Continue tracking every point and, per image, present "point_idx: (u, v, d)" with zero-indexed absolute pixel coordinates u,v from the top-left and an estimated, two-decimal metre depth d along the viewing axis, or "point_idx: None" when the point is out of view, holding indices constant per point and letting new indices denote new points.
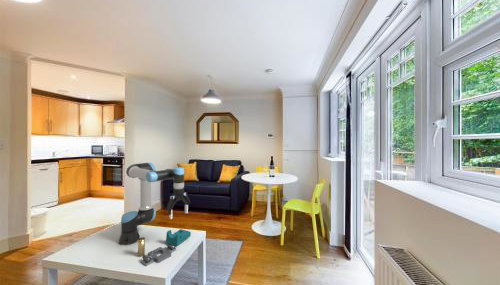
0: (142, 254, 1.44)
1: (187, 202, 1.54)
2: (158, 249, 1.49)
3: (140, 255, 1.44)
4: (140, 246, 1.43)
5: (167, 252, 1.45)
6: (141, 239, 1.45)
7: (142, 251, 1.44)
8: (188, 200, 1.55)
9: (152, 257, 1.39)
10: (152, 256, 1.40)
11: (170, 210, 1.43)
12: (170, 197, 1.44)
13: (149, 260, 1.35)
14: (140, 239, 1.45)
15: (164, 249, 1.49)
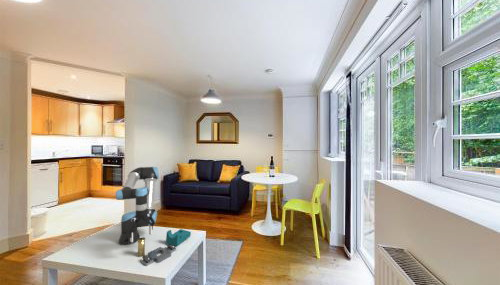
0: (142, 254, 1.44)
1: (151, 223, 1.50)
2: (158, 249, 1.49)
3: (140, 255, 1.44)
4: (140, 246, 1.43)
5: (167, 252, 1.45)
6: (141, 239, 1.45)
7: (142, 251, 1.44)
8: (152, 221, 1.51)
9: (152, 257, 1.39)
10: (152, 256, 1.40)
11: (130, 233, 1.39)
12: (131, 219, 1.40)
13: (149, 260, 1.35)
14: (140, 239, 1.45)
15: (164, 249, 1.49)
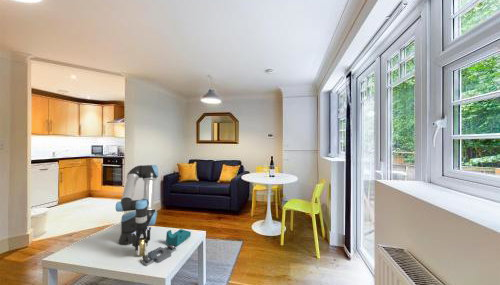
0: (142, 254, 1.44)
1: (146, 239, 1.48)
2: (158, 249, 1.49)
3: (140, 255, 1.44)
4: (140, 246, 1.43)
5: (167, 252, 1.45)
6: (141, 239, 1.45)
7: (142, 251, 1.44)
8: (148, 236, 1.49)
9: (152, 257, 1.39)
10: (152, 256, 1.40)
11: (137, 246, 1.43)
12: (131, 234, 1.40)
13: (149, 260, 1.35)
14: (140, 239, 1.45)
15: (164, 249, 1.49)
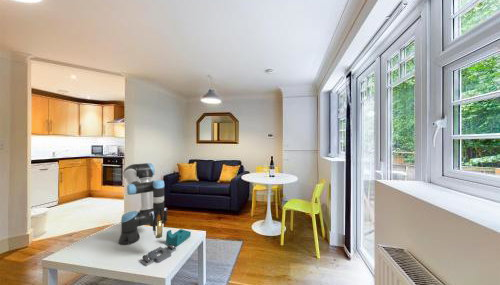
0: (159, 235, 1.43)
1: (164, 220, 1.46)
2: (158, 249, 1.49)
3: (158, 236, 1.42)
4: (158, 227, 1.42)
5: (167, 252, 1.45)
6: (158, 220, 1.44)
7: (159, 232, 1.43)
8: (165, 217, 1.47)
9: (152, 257, 1.39)
10: (152, 256, 1.40)
11: (155, 226, 1.41)
12: (149, 214, 1.39)
13: (149, 260, 1.35)
14: (157, 220, 1.44)
15: (164, 249, 1.49)
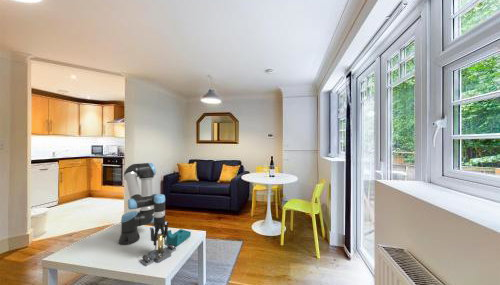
0: (160, 250, 1.43)
1: (164, 234, 1.47)
2: None
3: (158, 251, 1.42)
4: (158, 242, 1.42)
5: (167, 252, 1.45)
6: (159, 235, 1.44)
7: (160, 247, 1.43)
8: (166, 231, 1.48)
9: (152, 257, 1.39)
10: (152, 256, 1.40)
11: None
12: (150, 229, 1.39)
13: (149, 260, 1.35)
14: (158, 235, 1.44)
15: (164, 249, 1.49)
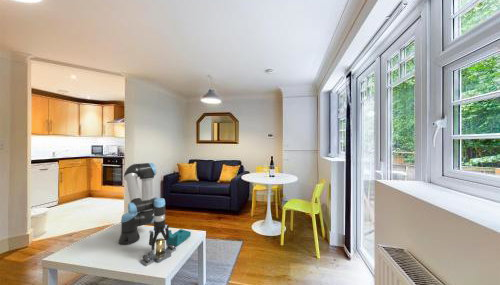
0: None
1: (166, 237, 1.48)
2: None
3: None
4: (158, 247, 1.42)
5: (167, 252, 1.45)
6: (159, 240, 1.44)
7: (160, 252, 1.43)
8: (167, 234, 1.49)
9: (152, 257, 1.39)
10: (152, 256, 1.40)
11: None
12: (150, 232, 1.39)
13: (149, 260, 1.35)
14: (158, 240, 1.44)
15: (164, 249, 1.49)
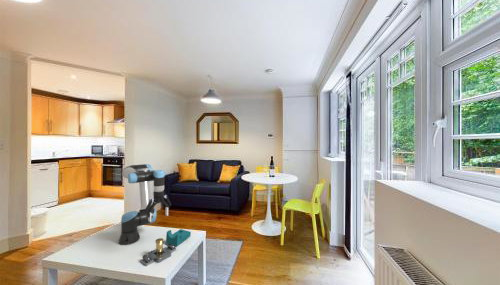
0: None
1: (168, 204, 1.54)
2: None
3: None
4: (158, 247, 1.42)
5: (167, 252, 1.45)
6: (159, 240, 1.44)
7: (160, 252, 1.43)
8: (169, 202, 1.55)
9: (152, 257, 1.39)
10: (152, 256, 1.40)
11: (149, 213, 1.43)
12: (149, 200, 1.44)
13: (149, 260, 1.35)
14: (158, 240, 1.44)
15: (164, 249, 1.49)
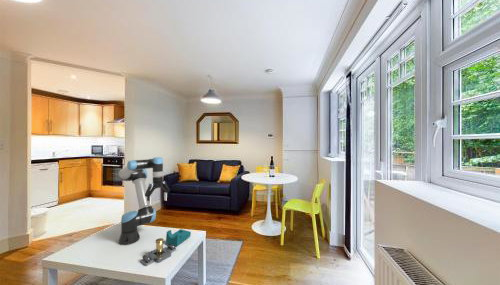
0: None
1: (166, 190, 1.65)
2: None
3: None
4: (158, 247, 1.42)
5: (167, 252, 1.45)
6: (159, 240, 1.44)
7: (160, 252, 1.43)
8: (167, 188, 1.66)
9: (152, 257, 1.39)
10: (152, 256, 1.40)
11: (149, 196, 1.53)
12: (149, 184, 1.54)
13: (149, 260, 1.35)
14: (158, 240, 1.44)
15: (164, 249, 1.49)
